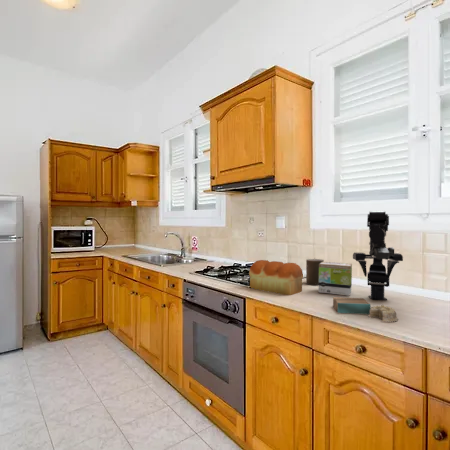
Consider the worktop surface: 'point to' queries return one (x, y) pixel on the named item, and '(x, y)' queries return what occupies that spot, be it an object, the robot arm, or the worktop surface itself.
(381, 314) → the cake
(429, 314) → the worktop surface
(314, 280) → the pillar candle
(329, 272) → the tea box
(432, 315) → the worktop surface
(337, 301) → the slab
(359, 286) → the worktop surface
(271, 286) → the bread
